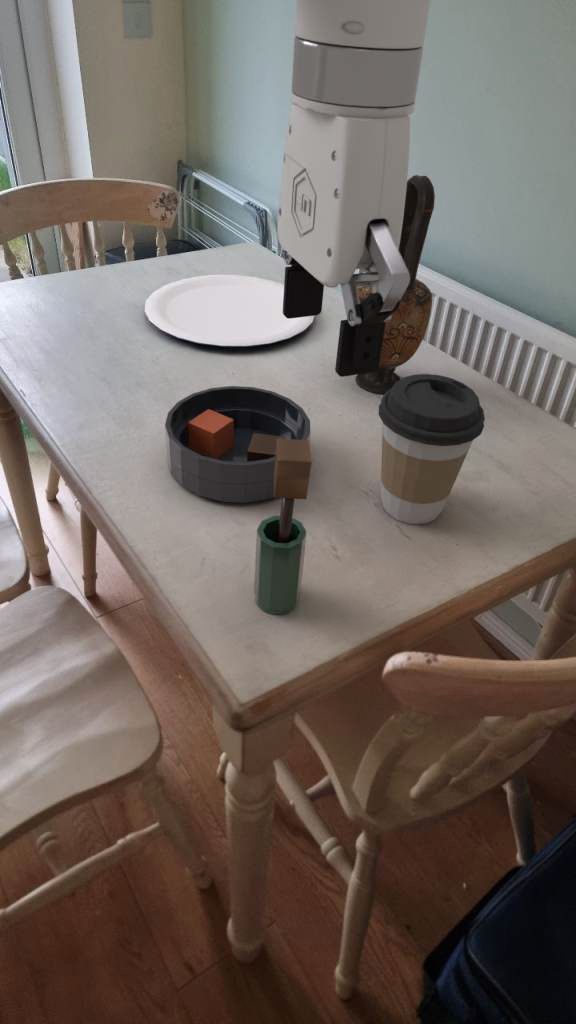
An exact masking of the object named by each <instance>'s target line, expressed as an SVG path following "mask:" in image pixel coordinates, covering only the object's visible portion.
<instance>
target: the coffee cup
mask: <svg viewBox="0 0 576 1024" xmlns="http://www.w3.org/2000/svg"><path fill="white" fill-rule="evenodd" d="M484 412H485V411H484V409H483V407H482V406H481V404H480V399H479V396H478V395H477V393H476V392H475V391H474V390H473V389H472V388H471V387H469V386H468V385H466V384H465V383H464V382H461V381H459V380H456V379H455V378H451V377H448V376H445V375H444V376H443V375H439V374H431V373H419V374H417V373H416V374H412V375H408V376H404V377H402V378H401V379H400V380H398V381H397V382H396V383H395V384H394V385H393V387H392V389H390V390H388V391H387V392H386V393H385V394H383V396H382V397H381V399H380V404H379V405H378V416H379V418H380V421H382V432H381V433H382V435H381V466H380V501H381V506H382V509H383V510H384V512H385V513H386V514H387V515H388V516H389V517H390V518H393V519H394V520H396V521H398V522H401V523H404V524H407V525H417V526H418V525H426V524H429V523H432V522H434V521H435V520H436V519H438V517H439V515H440V514H441V513H442V512H443V510H444V508H445V505H446V503H447V501H448V499H449V496H450V494H451V491H452V489H453V488H454V485H455V482H456V480H457V478H458V476H459V473H460V471H461V469H462V467H463V465H464V463H465V460H466V457H467V455H468V453H469V450H470V449H471V446H472V444H473V441H474V440H475V439H476V438H478V437H479V436H481V435H482V433H483V430H484V428H485V423H484V422H485V420H486V417H485V413H484Z"/></svg>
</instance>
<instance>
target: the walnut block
mask: <svg viewBox="0 0 576 1024" xmlns="http://www.w3.org/2000/svg"><path fill="white" fill-rule="evenodd" d="M277 439H286V437H281V436H274V435H266V434H258V433H253V436H252V439H251V442H250V445H249V448H248V451H247V462H250V461H258V460H265V459H270V458H272V457H275V453H276V442H277Z"/></svg>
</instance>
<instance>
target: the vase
mask: <svg viewBox="0 0 576 1024" xmlns="http://www.w3.org/2000/svg"><path fill="white" fill-rule="evenodd" d="M435 199H436V195H435V187H434V185H433V182H432V181H431V179H430V178H429V177H428V176H427V175H419V174H415V175H412V176H411V177H410V178H409V179H407V187H406V197H405V207H404V216H403V224H402V231H401V238H400V244H399V252H400V254H401V256H402V258H403V260H404V263H405V265H406V267H407V269H408V271H409V274H410V283H409V285H408V287H407V289H406V290H405V292H404V294H403V296H402V298H401V299H400V304H399V308H398V309H397V310H396V311H395V312H394V313H393V314H392V318H391V320H390V321H389V322H386V325H385V331H384V337H383V344H382V350H381V356H380V362H379V368H378V369H377V370H376V371H375V372H371V373H364V374H357V375H355V383H356V385H357V386H358V387H360V388H361V389H363V390H364V391H367V392H371V393H374V394H380V395H385V393H386V392H387V391H388V390H390V389H392V387H393V385H394V384H395V383H396V382H397V381H398V380H400V379H402V378H401V377H400V376H399V375H398V374H397V373H396V368H397V367H400V366H402V365H404V364H405V363H407V362H408V361H410V359H412V357H413V356H414V355H415V354H416V352H417V351H418V349H419V348H420V346H421V344H422V342H423V340H424V337H425V335H426V333H427V329H428V326H429V323H430V320H431V319H430V318H431V313H432V307H433V297H432V292H431V290H430V288H429V287H428V286H427V285H426V284H425V283H424V282H422V281H421V280H419V279H418V278H417V274H418V270H419V265H420V261H421V258H422V253H423V250H424V247H425V246H424V245H425V242H426V238H427V234H428V229H429V226H430V222H431V219H432V216H433V212H434V209H435V201H436V200H435ZM357 291H358V296H359V301H360V304H361V303H362V302H363V301H364V300H365V299H366V298H367V297H368V296H369V295H370V294H372V289H371V286H368V287H359V288H357Z"/></svg>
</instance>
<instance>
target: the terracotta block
mask: <svg viewBox="0 0 576 1024" xmlns="http://www.w3.org/2000/svg"><path fill="white" fill-rule="evenodd" d="M188 428H189V449H190V450H193V451H195V452H197V453H199V454H201V455H204V456H206V457H209V458H213V459H217V458H218V457H219V456H221V455H222V454H223V453H225V452H226V451H227V450H229V449H230V448H231V447H233V437H234V420H233V419H231V418H229V417H226V416H224V415H222V414H219V413H217V412H214V411H212V410H210V409H208V410H206V411H205V412H203V413H202V414H200V415H199V416H197V417H196V418H194V419H193V420H191V421H190V422H188Z"/></svg>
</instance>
